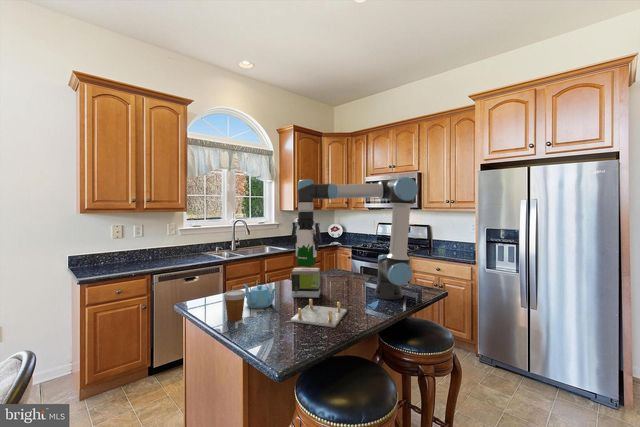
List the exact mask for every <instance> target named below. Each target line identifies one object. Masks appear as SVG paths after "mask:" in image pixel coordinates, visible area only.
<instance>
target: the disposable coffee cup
mask: <svg viewBox="0 0 640 427" xmlns="http://www.w3.org/2000/svg"><path fill="white" fill-rule="evenodd" d="M223 298H224V302H225V309H226V310H225V311H226V316H227V321H228V320H230V321H229V322H231V321H235V322H239V321H238V320H240V321H242V320H243V315H244V314H243V313H244V307H245V298H246V294H245V290H241V289H233V290H232V289H231V290H227V291H225V292H224V295H223ZM241 319H242V320H241Z"/></svg>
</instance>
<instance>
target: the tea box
mask: <svg viewBox="0 0 640 427" xmlns="http://www.w3.org/2000/svg"><path fill="white" fill-rule="evenodd" d="M290 272H291V297H292V298H319V297H320V294H321V268H320V267H294V268H293V269H292V270H291V271H290Z"/></svg>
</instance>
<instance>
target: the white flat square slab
mask: <svg viewBox="0 0 640 427" xmlns="http://www.w3.org/2000/svg"><path fill="white" fill-rule="evenodd" d="M346 313H347V309H346V308H341V301H336V307H328V306H322V305H321V306H320V305H313V298H309V299H308V304H307V305H305V306H304V307H303V308H302V307H298V308H297V313H296V314H295V315H293V317H291V319H290V323H297V324H305V325H306V324H307V325H311V326H320V327H327V328H328V327H329V328H336V326H337V325H338V324H339V322H340V321H341V320H342V319H343V317H344V316H345V314H346Z"/></svg>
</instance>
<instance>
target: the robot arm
mask: <svg viewBox="0 0 640 427" xmlns="http://www.w3.org/2000/svg"><path fill="white" fill-rule="evenodd" d="M418 191H419V187H418V184H417V182H416V181H415V179H413V178H412V177H408V176H401V177H398V178H392V179H388V180H384V181H383V180H382V181H379V182H377V183H355V184H354V183H350V184H345V183H344V184H336V183H314V180H312V179H300V180H299V181H298V183H297V205H298V206H297V210H298V214H297V216H298V220H297V221H294V222H292V230H291V236H290V242H291V243H293V249H294V250H295V257H297V234H296V230H298V229H299V230H306V229H308V230H312V229H315V230H316V235H315V234H313V241H314V244H313V257H314V258H315V257H316V258H317V256H318V254H317V251H319V244H320V243H322V242H323V240H322V239H323V238H322V235H321V229H320V222H315V221H314V200H333V199H334V200H335V199H336V200H337V199H338V200H339V199H361V198H362V199H363V198H364V199H366V198H378V199H380V200H389V204H390V205H391V206H392V212H391V216H392V217H391V228H390V241H389V242H390V243H389V244H390V245H389V253H388V254H379V255H378V256H377V283H376V286H375V289H374V296H375V297H376V298H379V299H381V300H389V301H391V300H392V301H394V300H400V299H402V298H403V290H402V287H401V286H404V285H406V284H407V283H408V282H410V280H411V278H412V276H413V271H412V268H411V266H410V259H411V258H410V257H409V255H408V244H409V243H408V242H409V230H410V218H411V217H410V216H411V214H410V213H411V207H413V206H414V202H415V201H414V200H415V198H416V197H417V195H418ZM298 227H299V228H298ZM313 227H314V228H313ZM297 228H298V229H297Z"/></svg>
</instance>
